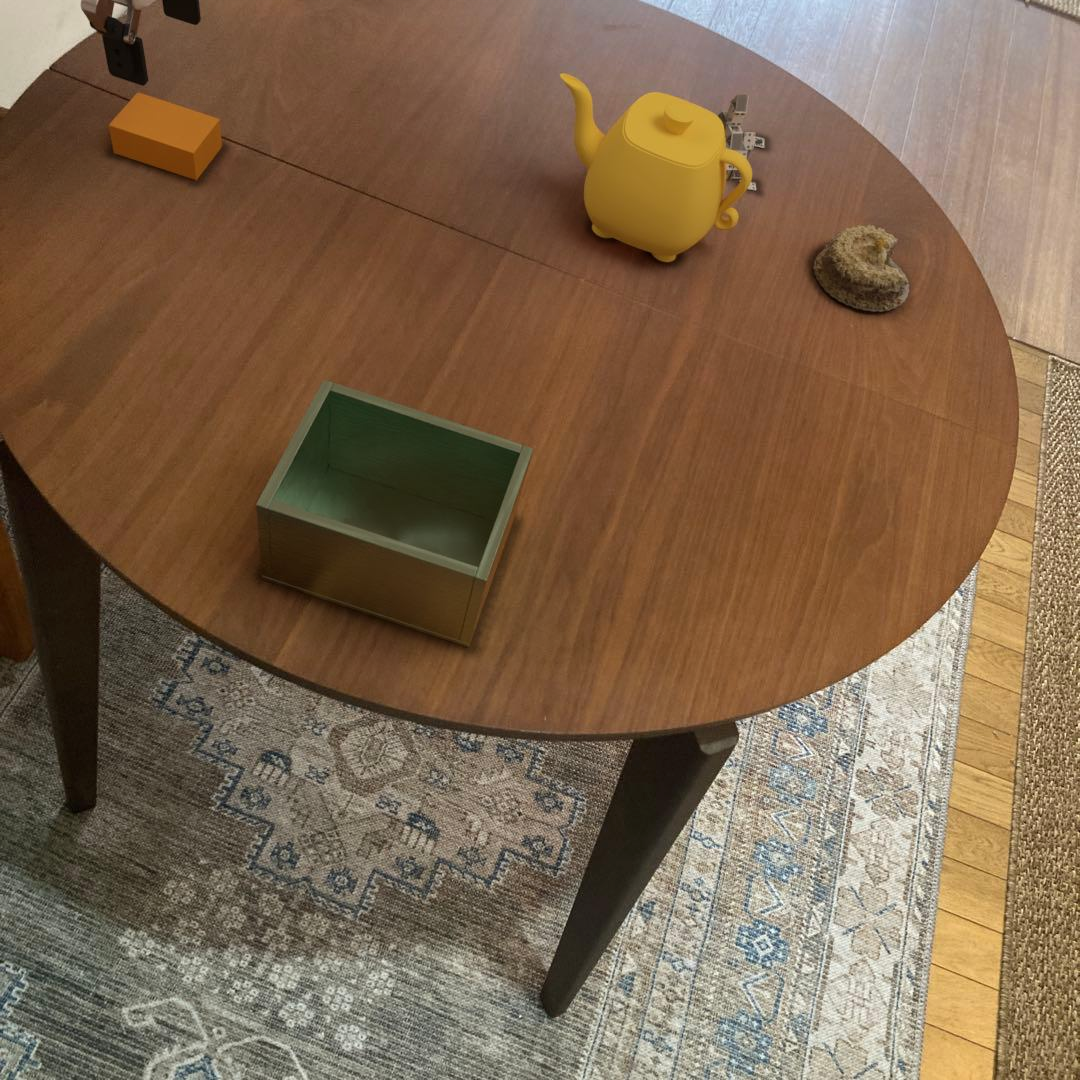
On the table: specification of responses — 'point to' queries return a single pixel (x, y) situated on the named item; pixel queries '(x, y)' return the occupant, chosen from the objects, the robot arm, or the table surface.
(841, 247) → the cake
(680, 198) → the teapot
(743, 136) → the house of cards
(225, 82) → the table surface
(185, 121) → the block
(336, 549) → the bin
